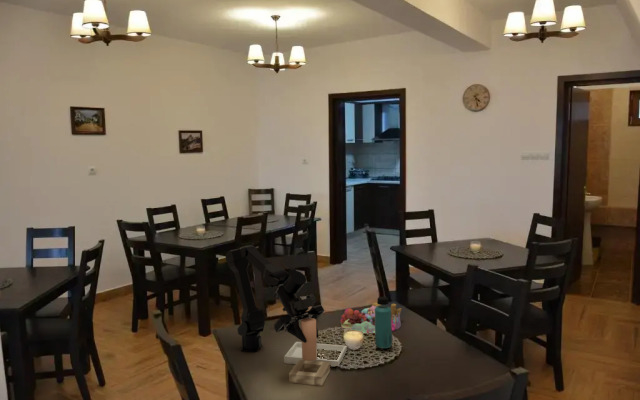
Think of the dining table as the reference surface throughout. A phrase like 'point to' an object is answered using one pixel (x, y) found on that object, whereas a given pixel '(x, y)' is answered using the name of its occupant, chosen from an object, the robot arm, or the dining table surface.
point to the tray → (296, 354)
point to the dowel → (309, 339)
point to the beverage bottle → (383, 324)
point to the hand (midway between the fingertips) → (311, 339)
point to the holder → (309, 372)
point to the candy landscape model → (368, 319)
